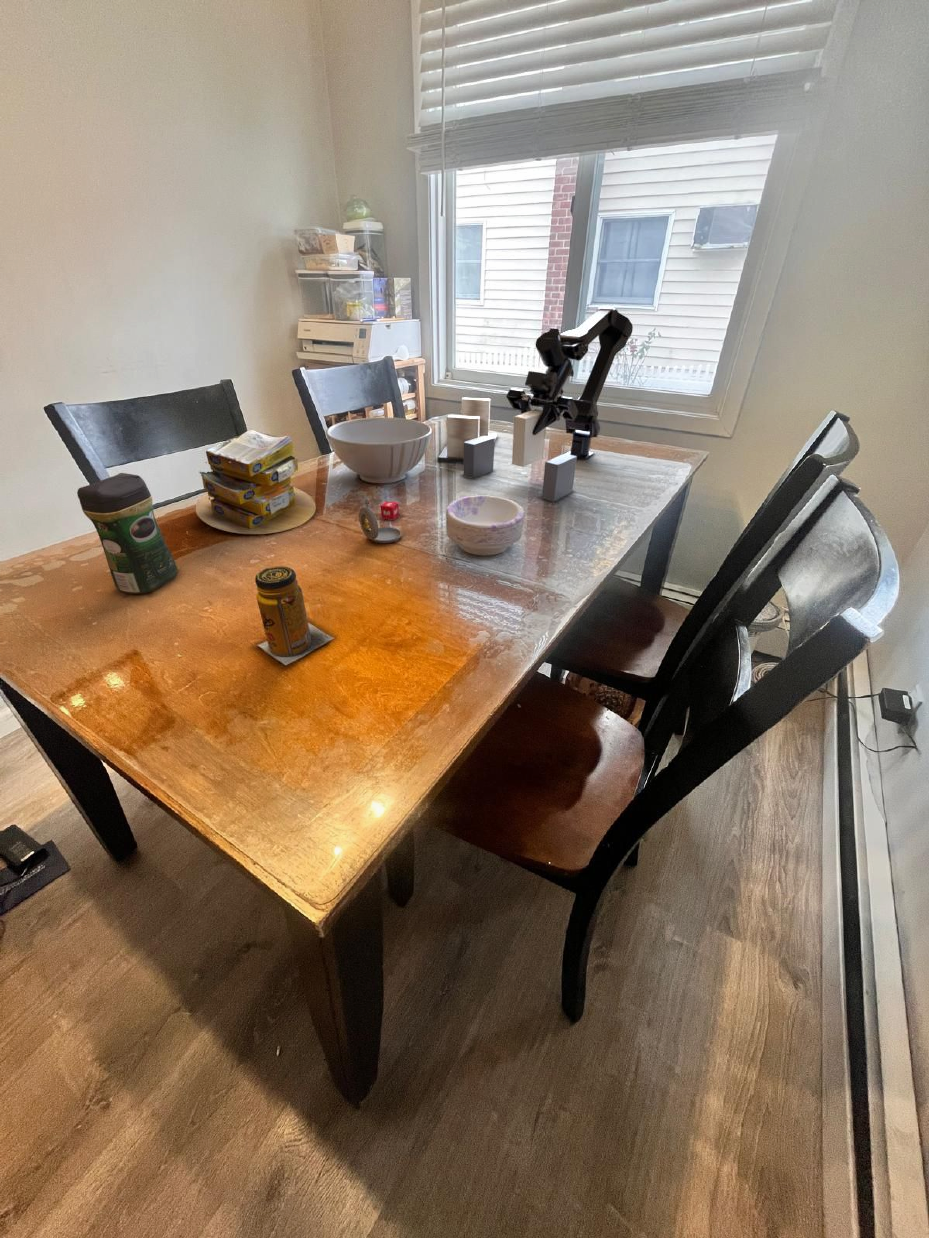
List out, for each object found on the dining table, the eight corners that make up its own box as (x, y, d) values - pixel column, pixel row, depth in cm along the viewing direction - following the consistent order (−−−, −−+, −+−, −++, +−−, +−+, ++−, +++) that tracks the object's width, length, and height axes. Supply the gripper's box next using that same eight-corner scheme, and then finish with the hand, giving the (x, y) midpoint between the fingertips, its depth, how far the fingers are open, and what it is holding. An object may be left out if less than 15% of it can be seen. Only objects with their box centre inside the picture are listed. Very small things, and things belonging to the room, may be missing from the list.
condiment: (257, 646, 76) (238, 574, 69) (305, 621, 81) (292, 553, 75) (286, 666, 72) (268, 593, 65) (334, 639, 77) (323, 569, 71)
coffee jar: (153, 566, 95) (116, 466, 85) (187, 573, 93) (154, 472, 83) (107, 591, 88) (61, 485, 77) (143, 600, 86) (100, 492, 75)
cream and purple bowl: (509, 569, 97) (512, 529, 92) (434, 555, 101) (433, 517, 96) (529, 536, 108) (532, 500, 104) (461, 525, 113) (462, 490, 108)
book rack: (496, 437, 173) (498, 398, 166) (485, 464, 149) (487, 420, 142) (455, 434, 175) (455, 396, 168) (437, 461, 150) (437, 417, 143)
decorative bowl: (429, 494, 128) (427, 444, 121) (321, 492, 128) (314, 443, 121) (435, 461, 150) (434, 418, 143) (343, 459, 150) (338, 416, 143)
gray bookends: (483, 468, 146) (484, 435, 141) (572, 491, 131) (577, 456, 126) (463, 476, 140) (463, 442, 135) (553, 501, 125) (558, 464, 120)
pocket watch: (406, 534, 109) (404, 488, 103) (389, 550, 102) (385, 502, 96) (372, 528, 111) (367, 482, 105) (352, 544, 104) (346, 496, 99)
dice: (393, 520, 115) (392, 507, 113) (381, 518, 115) (380, 505, 114) (399, 515, 117) (398, 502, 115) (387, 513, 118) (386, 500, 116)
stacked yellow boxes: (338, 509, 119) (328, 435, 110) (246, 547, 102) (225, 463, 93) (269, 487, 131) (255, 418, 121) (176, 518, 114) (152, 441, 104)
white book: (532, 455, 140) (535, 409, 133) (543, 458, 138) (546, 411, 131) (511, 464, 134) (513, 416, 127) (523, 467, 132) (525, 418, 125)
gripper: (512, 353, 130) (484, 407, 129) (578, 361, 120) (548, 419, 119) (527, 383, 139) (501, 433, 138) (589, 392, 129) (562, 446, 129)
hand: (526, 433), depth 131 cm, fingers closed on white book, 4 cm apart
